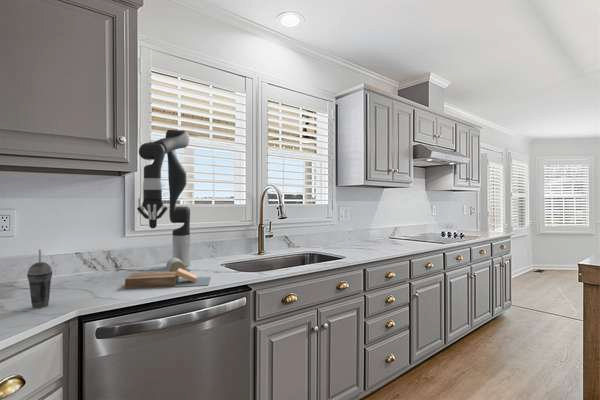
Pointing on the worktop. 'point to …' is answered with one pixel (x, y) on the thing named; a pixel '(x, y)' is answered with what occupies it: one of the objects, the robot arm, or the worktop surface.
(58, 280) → the worktop surface
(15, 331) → the worktop surface
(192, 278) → the orange tan rectangular block
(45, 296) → the beverage cup
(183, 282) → the mat
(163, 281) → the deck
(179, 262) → the ceramic mug
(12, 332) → the worktop surface
